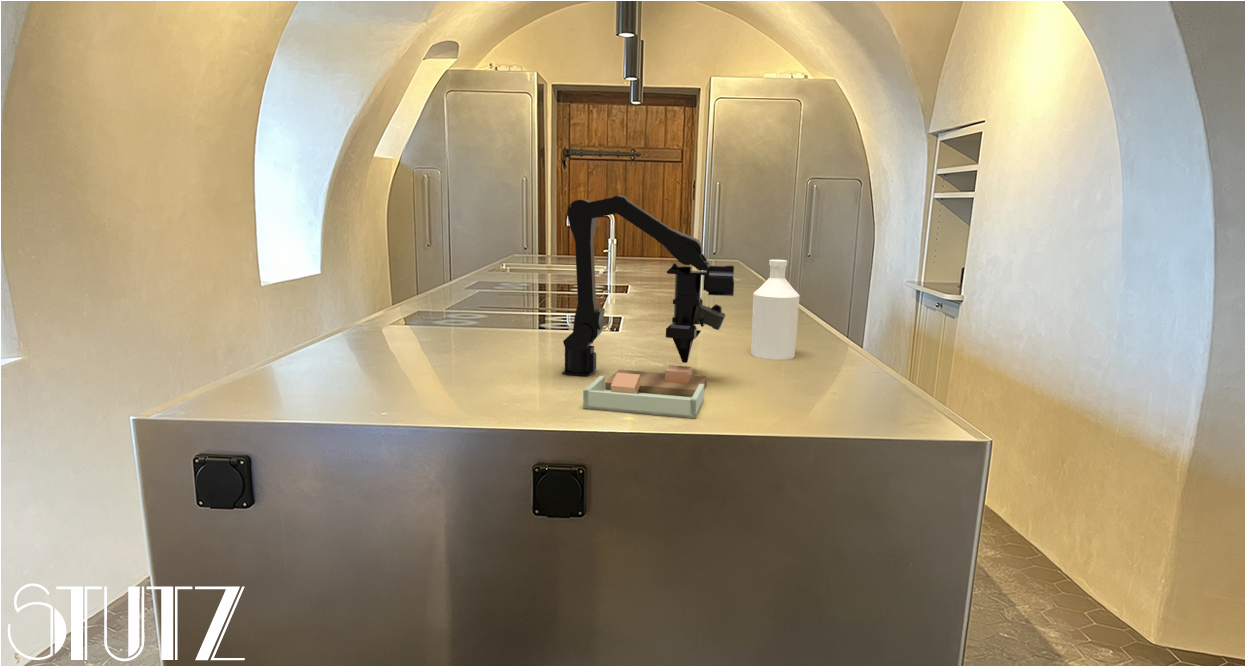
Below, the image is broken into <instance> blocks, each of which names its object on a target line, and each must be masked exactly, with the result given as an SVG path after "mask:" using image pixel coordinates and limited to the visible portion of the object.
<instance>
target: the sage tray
mask: <svg viewBox="0 0 1250 666" xmlns="http://www.w3.org/2000/svg"><path fill="white" fill-rule="evenodd" d="M605 382H606V375H599V376H598V377H597V378H596V379H595V380H594V381H593V382H592V383H590V384H589V385H588V386H587V387H586V388H585V389H584V390H583V394H582V396H583V398H582V400H583V402H582V406H583V407H582V408H583V409H586V408H587V409H588V410H596V411H597V410H598V411H610V412H621V413H631V414H642V415H652V416H654V415H655V416H663V417H674V418H683V419H684V418H686V419H696V418H697V416H698V413H699V411H700V409H701V407H702V405H703V403H704V399H705V389H704V384H699V385H698V387H697V389H696V391H695V393H694V395H693V396H692V397H683V396H671V395H660V394H648V393H637V394H630V393H618V392H611V390H605Z"/></svg>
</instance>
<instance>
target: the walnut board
mask: <svg viewBox="0 0 1250 666" xmlns="http://www.w3.org/2000/svg"><path fill="white" fill-rule="evenodd" d="M616 373H628V374H640V381H641V385H640V387H639V390H638V392H637V393H648V394H660V395H671V396H683V397H692V396H693V395H694V393H695V391H696V389H697V387H698V385H699V384H704V390H705V389H706V387H707V383H708V382H707V379H708V378H707V377H708V376H706V375H693V374H692V378H691V380H690V382H689V383H688V384H685V383H673V382H665V372H655V371H643V370H630V369H618V370H617V371H616V372H615V373H614V374H613V375H611V376H610V377H609V378H608V379H607V381H606V380H605V390H611V384H612V382H613V380H614V378H615V375H616Z"/></svg>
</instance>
